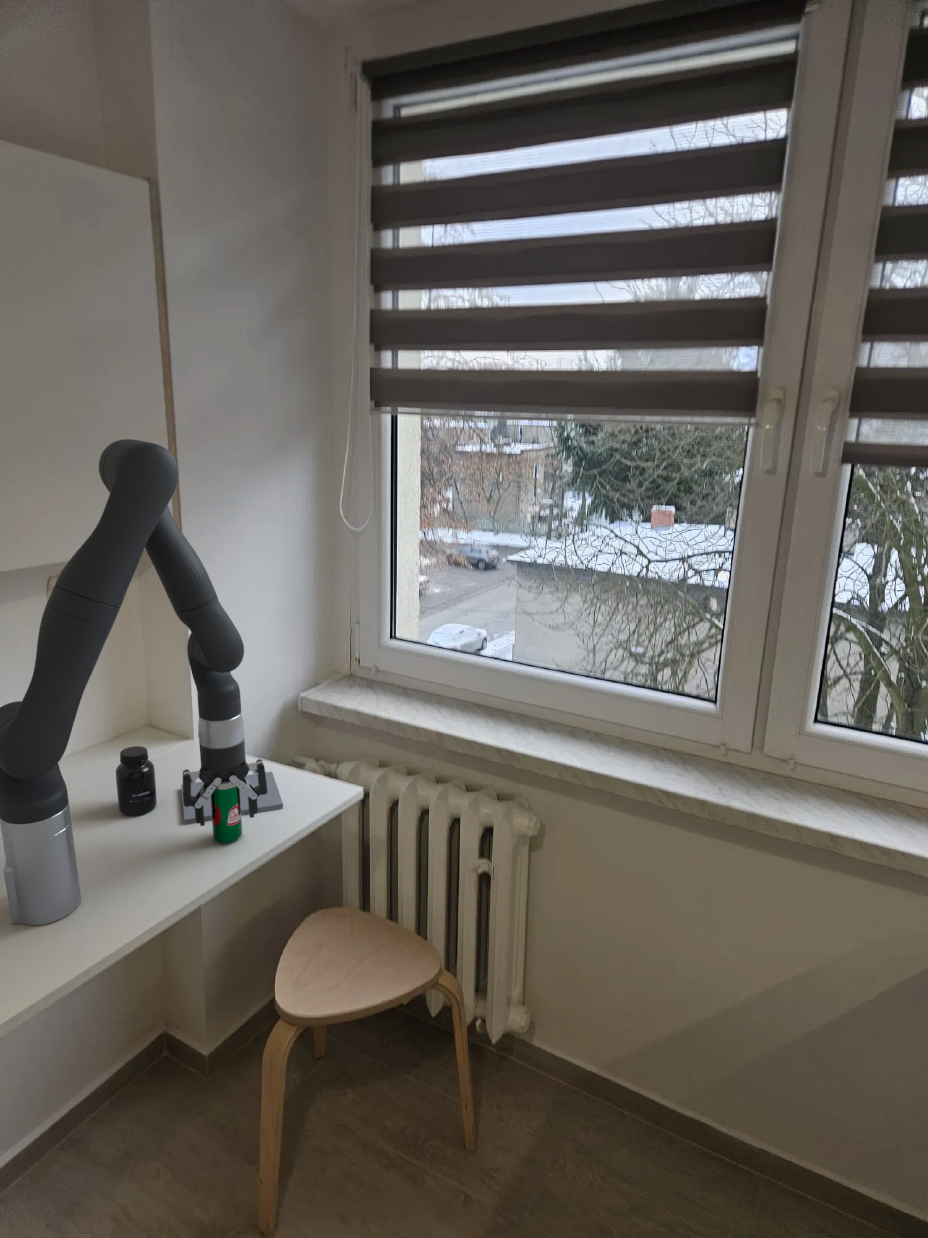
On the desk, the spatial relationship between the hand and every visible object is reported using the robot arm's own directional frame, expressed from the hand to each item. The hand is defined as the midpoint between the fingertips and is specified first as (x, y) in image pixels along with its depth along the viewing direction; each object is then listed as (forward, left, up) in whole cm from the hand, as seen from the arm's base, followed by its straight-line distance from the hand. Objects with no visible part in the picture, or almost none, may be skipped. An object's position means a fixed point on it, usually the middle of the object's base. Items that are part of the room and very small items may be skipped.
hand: (227, 819), depth 140 cm
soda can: (0, 0, -4) cm, 4 cm away
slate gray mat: (+2, +14, -4) cm, 15 cm away
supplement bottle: (-15, +16, -4) cm, 22 cm away
